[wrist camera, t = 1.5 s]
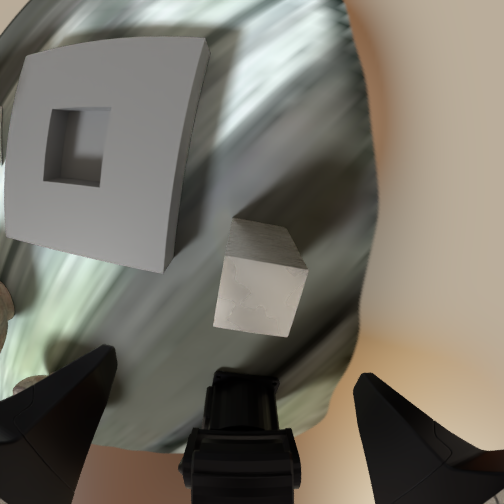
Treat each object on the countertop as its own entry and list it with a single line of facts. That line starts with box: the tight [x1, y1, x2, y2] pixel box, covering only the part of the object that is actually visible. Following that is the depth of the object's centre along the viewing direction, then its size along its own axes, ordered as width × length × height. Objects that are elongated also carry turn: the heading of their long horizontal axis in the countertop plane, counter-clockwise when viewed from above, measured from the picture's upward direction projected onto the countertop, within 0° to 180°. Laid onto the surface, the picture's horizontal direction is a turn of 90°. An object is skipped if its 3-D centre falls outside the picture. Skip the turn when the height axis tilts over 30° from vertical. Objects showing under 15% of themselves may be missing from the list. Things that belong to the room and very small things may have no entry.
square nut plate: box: [4, 36, 210, 274], centre depth 16 cm, size 16×16×3 cm
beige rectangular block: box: [213, 217, 309, 337], centre depth 17 cm, size 4×4×8 cm
